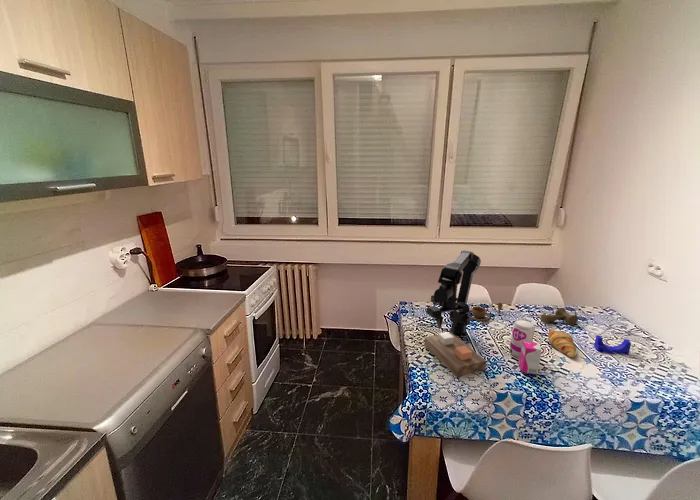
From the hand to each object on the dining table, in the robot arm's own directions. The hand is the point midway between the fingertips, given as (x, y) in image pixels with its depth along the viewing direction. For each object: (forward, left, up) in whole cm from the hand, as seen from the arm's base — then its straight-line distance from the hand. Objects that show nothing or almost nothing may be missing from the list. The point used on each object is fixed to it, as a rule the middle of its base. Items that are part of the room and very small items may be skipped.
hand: (446, 327), depth 146 cm
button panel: (0, +6, -11) cm, 13 cm away
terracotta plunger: (0, +12, -7) cm, 14 cm away
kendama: (-74, -3, -11) cm, 75 cm away
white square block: (0, 0, -7) cm, 8 cm away
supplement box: (-23, +24, -11) cm, 35 cm away
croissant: (-52, +15, -11) cm, 55 cm away
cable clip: (-70, +26, -11) cm, 76 cm away
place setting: (-41, -20, -12) cm, 47 cm away
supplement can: (-29, +14, -11) cm, 34 cm away
